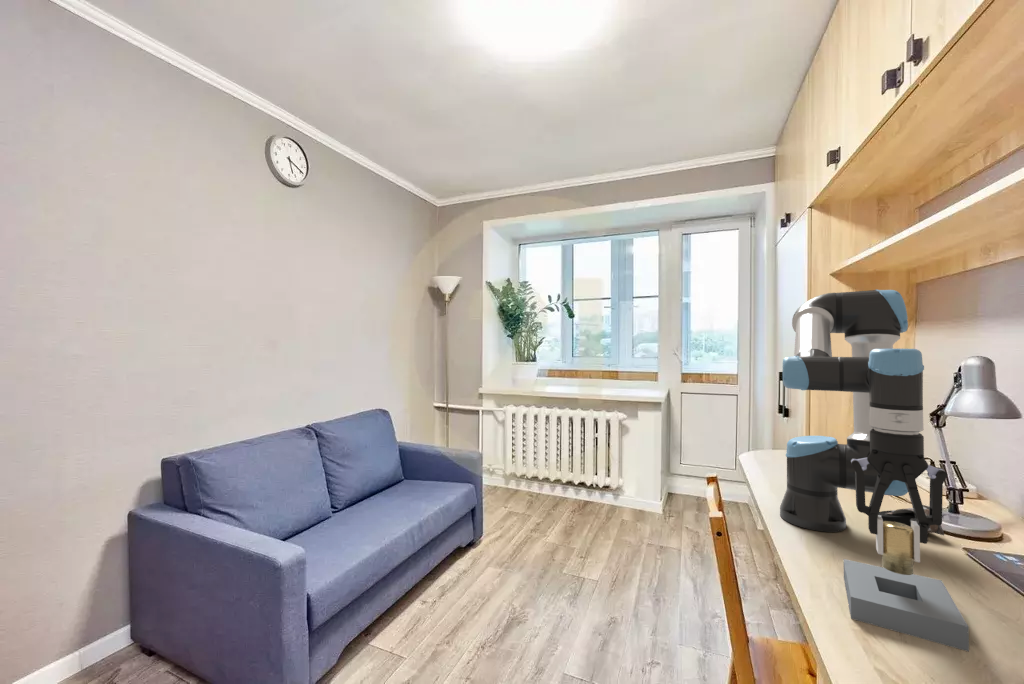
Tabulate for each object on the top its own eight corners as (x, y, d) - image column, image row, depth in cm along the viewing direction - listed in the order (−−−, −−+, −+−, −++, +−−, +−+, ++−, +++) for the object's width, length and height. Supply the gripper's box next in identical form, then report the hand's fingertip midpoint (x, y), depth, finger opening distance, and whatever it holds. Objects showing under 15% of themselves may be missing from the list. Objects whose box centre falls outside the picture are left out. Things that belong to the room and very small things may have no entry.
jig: (843, 577, 91) (843, 558, 91) (941, 601, 82) (941, 580, 82) (850, 618, 77) (850, 596, 77) (968, 651, 69) (968, 626, 69)
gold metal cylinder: (880, 560, 83) (879, 519, 83) (910, 566, 80) (910, 524, 80) (883, 570, 79) (883, 527, 79) (916, 577, 77) (915, 533, 77)
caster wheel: (874, 529, 119) (913, 526, 117) (903, 539, 108) (947, 535, 106) (866, 504, 120) (905, 500, 119) (894, 511, 109) (937, 507, 108)
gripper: (838, 429, 82) (840, 550, 81) (968, 439, 72) (970, 578, 72) (836, 422, 88) (837, 536, 88) (955, 432, 78) (956, 559, 78)
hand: (897, 554), depth 80 cm, fingers closed on gold metal cylinder, 4 cm apart
